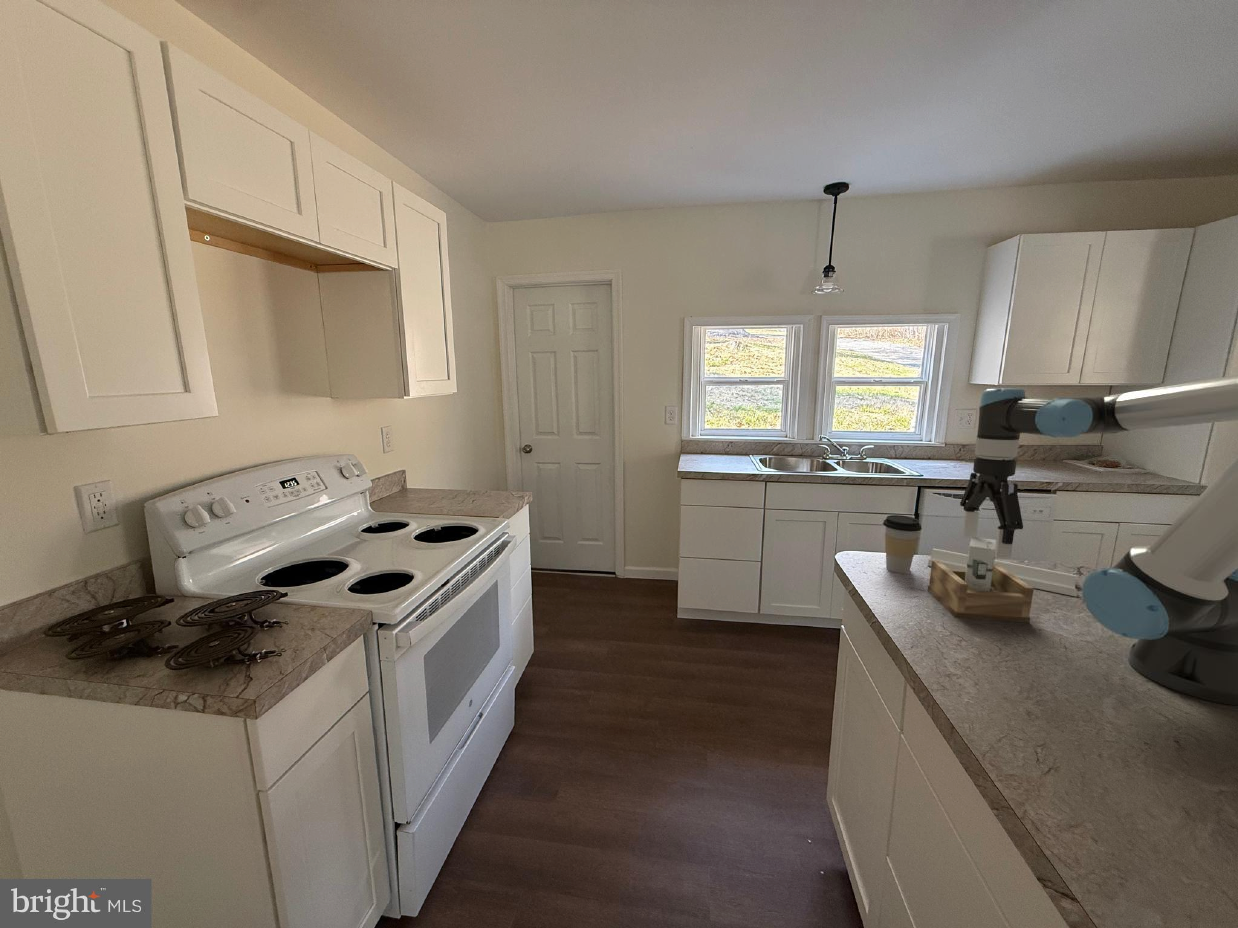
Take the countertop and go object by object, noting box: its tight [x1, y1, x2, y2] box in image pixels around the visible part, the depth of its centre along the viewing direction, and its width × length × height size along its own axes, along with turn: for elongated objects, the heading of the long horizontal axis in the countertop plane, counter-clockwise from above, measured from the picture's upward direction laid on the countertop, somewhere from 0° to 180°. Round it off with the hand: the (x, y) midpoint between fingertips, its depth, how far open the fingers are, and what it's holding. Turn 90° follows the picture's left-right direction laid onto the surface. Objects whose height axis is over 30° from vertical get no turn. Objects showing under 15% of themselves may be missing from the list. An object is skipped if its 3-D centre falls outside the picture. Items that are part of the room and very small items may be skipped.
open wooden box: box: [927, 560, 1035, 624], centre depth 112 cm, size 14×15×8 cm
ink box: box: [965, 536, 997, 591], centre depth 111 cm, size 9×5×12 cm, turn 141°
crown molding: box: [927, 547, 1078, 598], centre depth 130 cm, size 31×12×4 cm, turn 50°
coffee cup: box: [882, 514, 923, 574], centre depth 133 cm, size 9×9×15 cm
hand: (984, 546), depth 110 cm, fingers open, 13 cm apart
